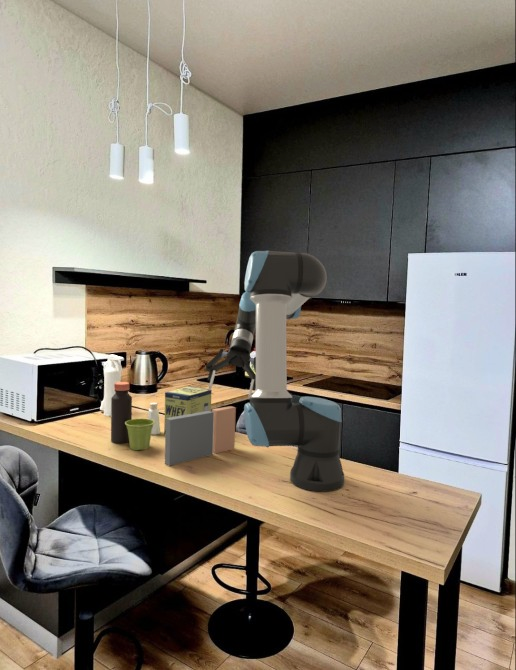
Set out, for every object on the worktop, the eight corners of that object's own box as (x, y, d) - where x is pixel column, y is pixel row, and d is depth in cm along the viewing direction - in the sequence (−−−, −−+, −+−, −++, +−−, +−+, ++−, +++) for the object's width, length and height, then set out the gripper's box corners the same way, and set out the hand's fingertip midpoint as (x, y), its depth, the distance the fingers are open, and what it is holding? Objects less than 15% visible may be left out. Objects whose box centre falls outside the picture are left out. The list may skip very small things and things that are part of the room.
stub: (229, 447, 161) (230, 406, 160) (234, 448, 159) (235, 407, 158) (210, 451, 156) (211, 409, 154) (215, 453, 154) (216, 410, 153)
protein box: (163, 434, 174) (164, 392, 173) (188, 424, 188) (189, 385, 186) (186, 439, 169) (187, 395, 168) (211, 429, 183) (212, 388, 182)
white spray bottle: (107, 409, 206) (108, 352, 203) (126, 415, 199) (127, 355, 196) (94, 412, 200) (95, 353, 197) (113, 418, 194) (114, 357, 191)
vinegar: (112, 444, 160) (112, 385, 159) (109, 438, 166) (110, 381, 165) (132, 442, 163) (133, 384, 161) (129, 436, 169) (130, 380, 168)
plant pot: (118, 449, 156) (118, 423, 155) (137, 441, 164) (137, 416, 164) (141, 454, 152) (141, 427, 151) (159, 446, 160) (160, 420, 160)
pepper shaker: (148, 435, 171) (149, 405, 171) (143, 431, 176) (144, 402, 175) (162, 433, 174) (163, 404, 173) (157, 430, 179) (158, 400, 178)
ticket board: (207, 453, 155) (209, 410, 154) (213, 455, 153) (214, 412, 152) (164, 463, 144) (165, 418, 143) (169, 466, 142) (170, 420, 141)
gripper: (272, 358, 178) (264, 406, 164) (207, 343, 177) (192, 390, 164) (276, 345, 172) (267, 394, 158) (208, 330, 172) (193, 378, 158)
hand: (229, 392), depth 161 cm, fingers open, 13 cm apart
